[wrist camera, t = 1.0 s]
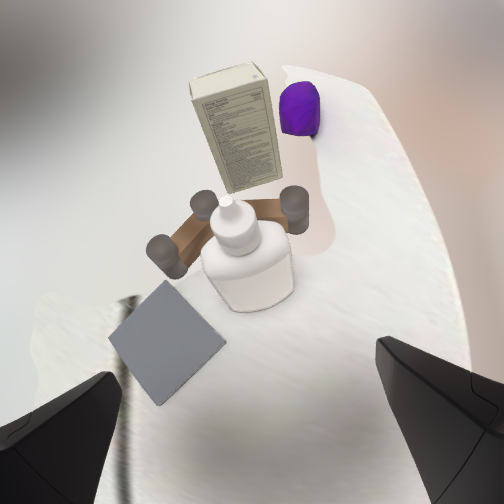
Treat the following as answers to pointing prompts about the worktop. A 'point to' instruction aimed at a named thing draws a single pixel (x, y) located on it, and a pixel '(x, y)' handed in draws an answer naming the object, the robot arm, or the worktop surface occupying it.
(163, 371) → the coaster
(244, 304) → the eye dropper bottle
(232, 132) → the skincare box
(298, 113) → the purple faceted pebble
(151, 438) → the worktop surface
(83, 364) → the worktop surface
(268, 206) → the rail
